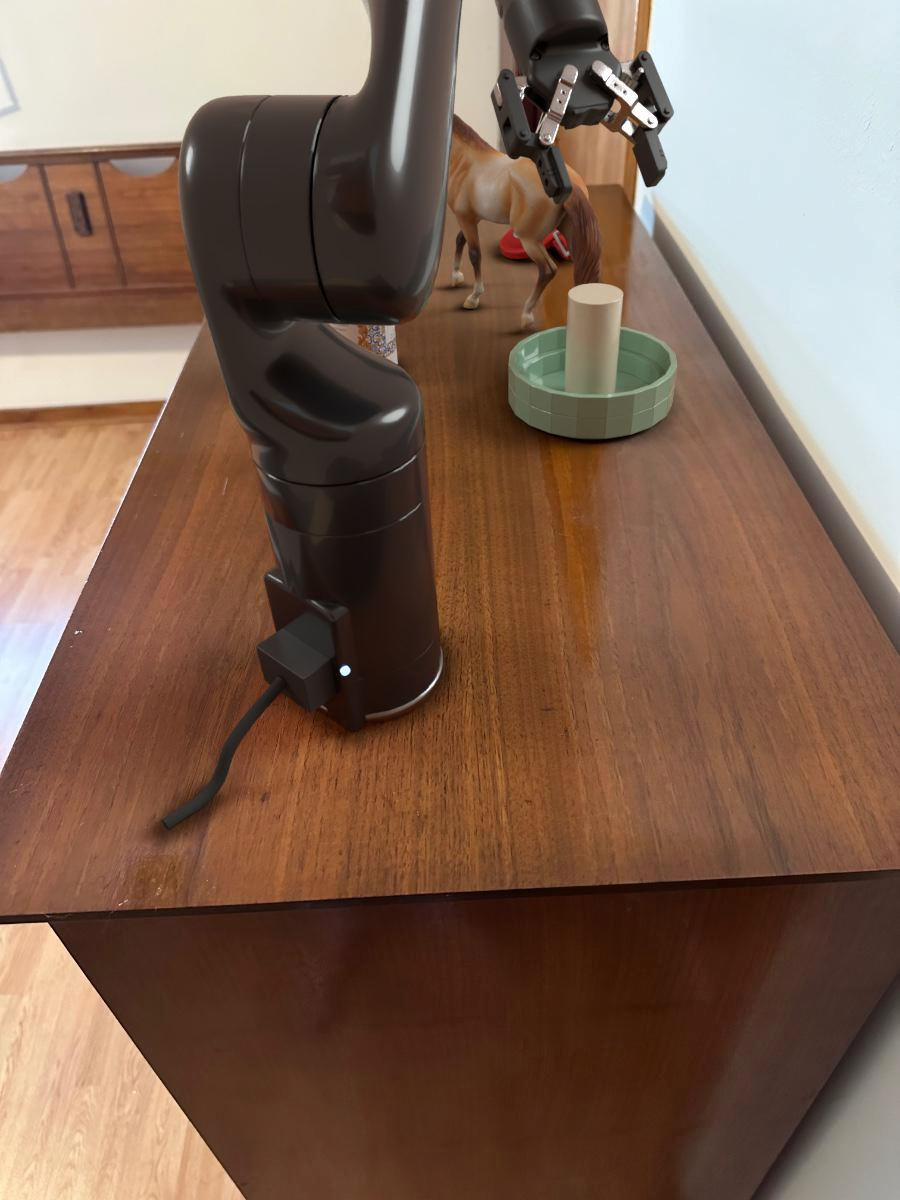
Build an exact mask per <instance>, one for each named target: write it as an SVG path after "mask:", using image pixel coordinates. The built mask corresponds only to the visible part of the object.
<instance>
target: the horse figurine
mask: <svg viewBox="0 0 900 1200" xmlns="http://www.w3.org/2000/svg"><path fill="white" fill-rule="evenodd" d="M564 163H565V166H566V169H567V171H568V174H569V177H570V180H571V183H572V188H573V189H572V193H571V195H570V196H569V198H568V199H567V200H566V202H565V203H561V204H555V203H554V201H553V198H549V197H548V196H547V194H546V193H545V191H544V188H543V185H542V182H541V179H540V176H539V173H538V171H537V168H536V165H535V163H533V162H532V161H531V160H530V159H529V158H526V157H520V158H518V159H516V160H514V159H511V158H509V157H508V155H507V153H503V152H501V151H499V150H498V149H496V148H495V147H493V146H492V145H490V143H489V142H487V141H486V140H485V139H484V138H482V137H481V136H480V134H479V133H478V132H477V131H475V130H474V129H473V128H472V126H471V125H469V124H468V123H466V122H465V121H464V120H463V119H462V118H461V117H460V116H459V115H458V114H456V113H454V116H453V130H452V145H451V159H450V173H449V187H448V198H447V206H448V207H449V208H450V210H451V211H452V213H453V214H454V215H455V219H456V220H455V221H456V223H457V225H458V227H459V228H460V230H459V232H458V233H457V234H456V238H455V252H454V255H453V259H452V262H451V267H452V274H451V287H452V288H455V287H458V286H462V284H463V283H464V282H465V281H464V280H465V279H464V278H465V277H464V273H462V272H461V271H460V270H461V268H462V261H463V260H462V259H463V253H464V248H465V246H466V244H467V249H468V250H467V251H468V258H469V261H470V264H471V266H472V268H473V273H474V275H473V276H474V284H473V291H472V293H471V294H469V295H468V296H467V297H466V300H465V301H464V302H463V305H462V307H463V308H465V309H469V310H470V309H471V310H472V309H477V307H478V305H479V303H480V299H479V297H480V296H481V295H482V294H483V293H484V290H485V288H484V283H483V277H482V275H483V274H482V249H481V243H480V242H481V241H480V235H479V228H478V225H479V223H480V222H481V220H482V221H488V222H490V223H494V224H497V225H510V228H512V229H513V231H514V233H515V234H516V236H517V237H518V238H519V239H520V241H521V243H522V245H523V248H524V250H525V252H526V253H527V254H528V255H529V257H528V258H530V259H531V260H532V261H533V262H534V263H535V264H536V265H537V268H538V278H537V282H536V283H535V286H534V288H533V289H532V291H531V293H530V294H529V295H528V297H527V298H526V300H525V302H524V306H523V310H522V314H521V321H520V329H521V330H522V331H526V330H527V329H529V328H530V327H531V326H532V325H533V324H534V323H535V318H534V314H533V312H532V311H533V310H534V309H536V308H537V306H538V302H539V300H540V298H541V296H542V294H543V293H544V291H545V289H546V287H547V286H548V285H549V284H550V282H551V281H553V279H554V278H555V277H556V276H557V273H558V267H557V265H556V263H555V262H554V260H553V259H552V258H551V257H550V255H549V253H548V251H547V250H546V249H545V247H544V245H543V239H544V238H545V237H547V236H548V235H549V234H550V233H551V232H553V231H554V230H555V229H557V230H558V231H559V232H560V233H561V234H562V235H563V237H564V238H565V240H566V244H567V247H568V250H569V254H570V256H571V260H572V262H573V274H572V275H573V284H574V286H573V288H574V287H576V286H579V285H583V284H591V283H600V284H604V283H603V244H604V243H603V235H602V232H601V226H600V223H599V220H598V216H597V214H596V211H595V209H594V207H593V205H592V203H591V202H590V196H589V191H588V188H587V186H586V184H585V182H584V180H583V179H582V177H581V176H580V175H579V174H578V172H576V170H574V169H573V168H572V167H571V166H569V164H567V163H566V162H564Z"/></svg>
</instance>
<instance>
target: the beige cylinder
mask: <svg viewBox="0 0 900 1200" xmlns="http://www.w3.org/2000/svg"><path fill="white" fill-rule="evenodd" d="M623 304H624V291H623V290H622V289H621V288H619V287H618V286H616V285H612V284H608V283H603V284H600V283H591V284H583V285H579V286H576V287H574V286H573V287H572V288H571V289H569V290H568V293H567V306H566V308H567V311H566V326H567V330H566V353H565V377H564V392H568V393H575V394H600V395H607V394H614V393H615V390H616V378H617V366H618V354H619V342H620V330H621V327H622V317H623Z"/></svg>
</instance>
